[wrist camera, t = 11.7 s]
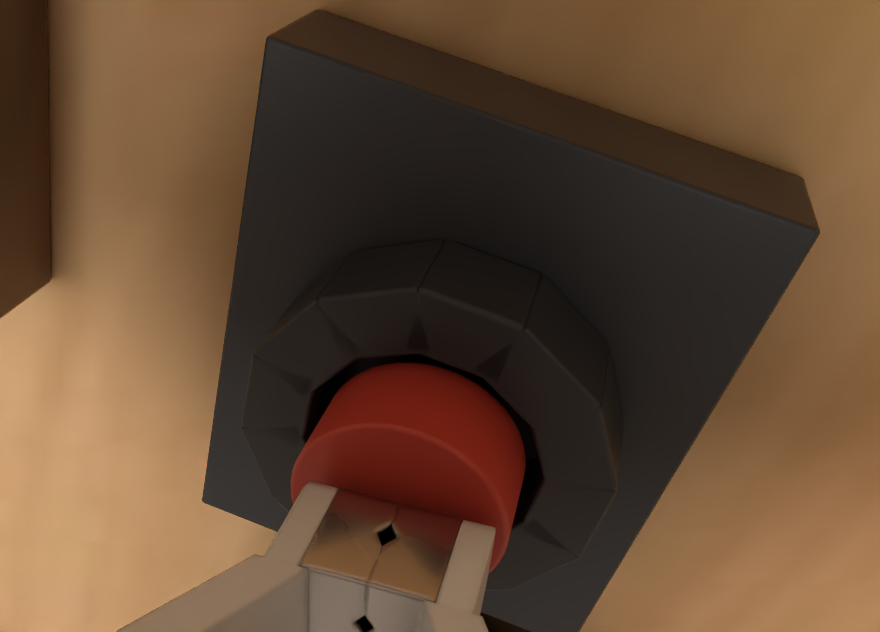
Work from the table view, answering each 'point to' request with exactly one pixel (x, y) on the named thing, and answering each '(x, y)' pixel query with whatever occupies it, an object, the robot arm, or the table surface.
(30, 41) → the panel
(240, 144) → the table surface
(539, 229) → the switch block
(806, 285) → the table surface
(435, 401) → the button
